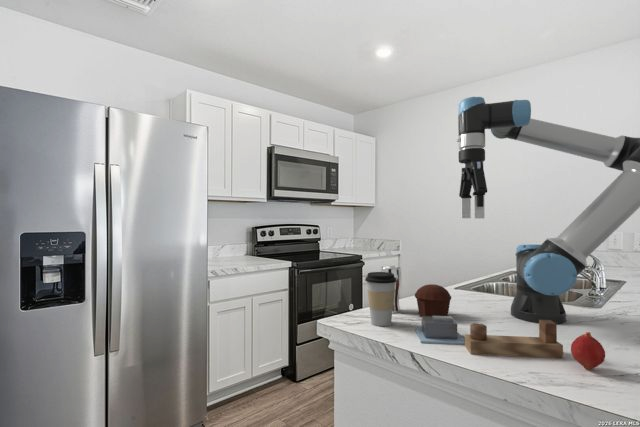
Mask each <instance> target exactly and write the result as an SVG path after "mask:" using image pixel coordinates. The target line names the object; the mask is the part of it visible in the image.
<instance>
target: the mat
mask: <svg viewBox="0 0 640 427" xmlns="http://www.w3.org/2000/svg"><path fill="white" fill-rule="evenodd" d="M414 330H415V332H416V334H417V337H418V339H419V342H420V344H434V345H435V344H436V345H458V346H460V345H461V346H462V345H463V346H465V339H463V337H462V336H461V335H460V333H459V332H458V331H457V340H455V339H432V338H425V336H424V334H423V332H422V327H414Z"/></svg>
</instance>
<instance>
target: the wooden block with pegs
mask: <svg viewBox="0 0 640 427" xmlns="http://www.w3.org/2000/svg"><path fill="white" fill-rule="evenodd" d="M557 324H558V323H554V322H552V321H551V320H539V323H538V330H539V331H538V332H539V333H538V334H539V335H538V336H518V335H517V336H516V335H490V334H488V327H487V325H486V324H483V323H478V322H477V323H476V322H475V323H470V326H469V328H470V329H469V330H470V332H469V333H470V334H469V333H468V334H467V333H465V334H464V341H465V345H464V348H466V350H467V351H468V352H469V354H470V355H481V356H482V355H484V356H503V357H523V358H526V357H527V358H543V359H544V358H547V359H548V358H549V359H564V345H563V344H562V343H561V342H559V341H558V338H557V335H558V334H557V330H558V328H557V326H558V325H557Z"/></svg>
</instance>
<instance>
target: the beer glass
mask: <svg viewBox="0 0 640 427" xmlns="http://www.w3.org/2000/svg"><path fill="white" fill-rule="evenodd" d="M380 268H381V269H380V270H381V271H380V272H388V273H393V274H394V277H395V278H396V282H395V288H394V290H395V294H394V304H393V309H392V314H396V313H400V312H401V308H400V307H401V306H400V295H401V294H400V292H401V288H402V270H401V266H398V265H397V266H395V265H383V266H381V267H380Z"/></svg>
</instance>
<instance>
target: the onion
mask: <svg viewBox="0 0 640 427" xmlns="http://www.w3.org/2000/svg"><path fill="white" fill-rule="evenodd" d="M570 352H571V356H572V357H573V359H574V360H575V361H576V362H577V363H578V364H579V365H580V366H582V367H583V368H584V370H588V371H591V370H593V369H595V368H596V367H599V366H600V365H602V364H603V363H604V361H605V358H606V351H605V348H604V347H603V345H602V344H601V342H599V340H598V339H596V338H595V337H593V335H592V334H591V332H590V331H586V332H585V333H583V334H581V335H579V336H578V337H576V338H575V339H574V340H573V341H572V343H571V344H570Z"/></svg>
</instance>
